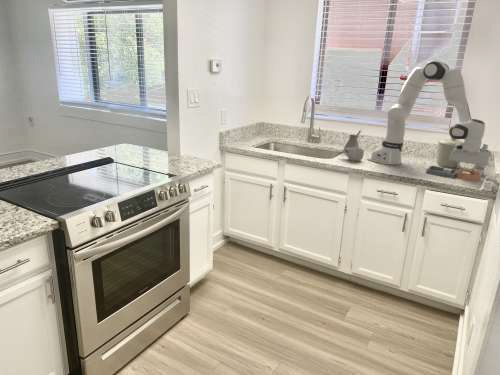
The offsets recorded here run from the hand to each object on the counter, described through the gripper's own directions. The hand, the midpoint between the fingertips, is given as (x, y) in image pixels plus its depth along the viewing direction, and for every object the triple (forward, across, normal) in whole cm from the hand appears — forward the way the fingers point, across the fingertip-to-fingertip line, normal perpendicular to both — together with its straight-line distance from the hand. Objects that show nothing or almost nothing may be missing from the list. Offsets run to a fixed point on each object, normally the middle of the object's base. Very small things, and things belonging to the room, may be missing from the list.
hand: (466, 169), depth 227 cm
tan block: (+5, 0, 0) cm, 5 cm away
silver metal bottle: (+6, -6, -13) cm, 15 cm away
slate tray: (+6, +13, 0) cm, 14 cm away
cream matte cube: (+5, +10, 0) cm, 11 cm away
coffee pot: (+6, +77, -20) cm, 80 cm away
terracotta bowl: (+6, -2, 0) cm, 6 cm away
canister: (+6, +13, -25) cm, 29 cm away
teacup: (+6, +68, +6) cm, 69 cm away
